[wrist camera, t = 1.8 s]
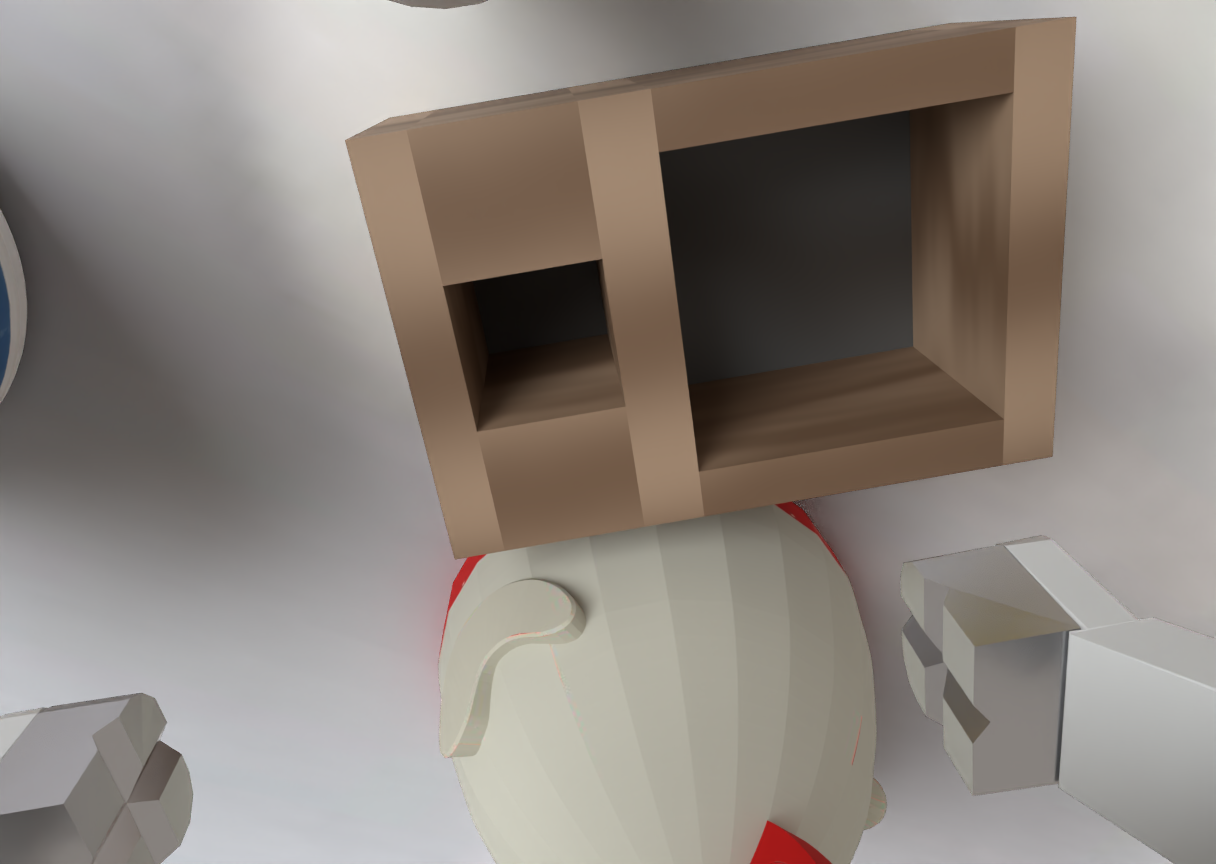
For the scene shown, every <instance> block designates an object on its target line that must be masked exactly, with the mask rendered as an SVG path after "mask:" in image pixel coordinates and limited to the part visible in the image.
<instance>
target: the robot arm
mask: <svg viewBox="0 0 1216 864" xmlns="http://www.w3.org/2000/svg"><path fill="white" fill-rule="evenodd" d="M900 581H901V597H902V599H903V600H904V602H905V603H906V605H907V606H908V608H909V609H910V611H911V612H912V616H911V617H910V619H909V620H908V622H907V623H906V624H905V626H904V627H903V629H902V646H903V658H904V662H905V667H906V671H907V676H908V680H909V683H910V685H911V688H912V690H913V693H914V695H915V698H916V700H917V702H918V704H919V705H920V707H921V709H922V711H923V713H924V714H925V716H926V717H928V718H930V719H931V720H933V721H935V722H937V723H939V724H941V725H943V746H944V749H945V751H946V752H947V754H948V756H949V757H950V759H951V761H952V762H953V764H954V766H955V767H956V769H957V771H958V772H959V774H960V776H961V778H962V779H963V781H964V783H965V784H966V786H967V788H968V789H969V791H970V793H971V794H972V796H976V795H983V794H990V793H997V792H1004V791H1011V790H1018V789H1025V788H1032V787H1038V786H1045V785H1052V784H1059V787H1058V788H1060V789H1061V790H1063V791H1064V792H1066V793H1067V794H1069V795H1070V796H1072V797H1073V798H1075V799H1076V800H1078V801H1079V802H1081V803H1083V804H1084V805H1086V806H1087V807H1089V808H1090V809H1092V810H1093V811H1095V812H1096V813H1098V814H1099V815H1101V816H1102V817H1104V818H1105V819H1107V820H1108V821H1110V822H1111V823H1113V824H1115V825H1116V826H1118V827H1119V828H1121V829H1122V830H1124V831H1125V832H1127V833H1128V834H1130V835H1131V836H1133V837H1134V838H1136V839H1137V840H1139V841H1140V842H1142V843H1143V844H1145V845H1146V846H1148V847H1150V848H1151V849H1153V850H1154V851H1156V852H1157V853H1159V854H1160V855H1162V856H1163V857H1165V858H1166V859H1168V860H1169V861H1171V862H1172V863H1174V864H1216V639H1215V638H1212V637H1209V636H1206V635H1203V634H1200V633H1197V632H1194V631H1192V630H1189V629H1186V628H1183V627H1180V626H1177V625H1174V624H1171V623H1168V622H1165V621H1163V620H1160V619H1157V618H1154V617H1153V618H1147V619H1141V620H1138V619H1137V618H1136V617H1135V616H1134V615H1133V614H1132V613H1131V612H1130V611H1129V610H1128V609H1126V608H1125V607H1124V606H1123V605H1122V604H1121V603H1120V602H1119V601H1118V600H1117V599H1116V598H1115V597H1114V596H1113V595H1111V594H1110V593H1109V592H1108V591H1107V590H1106V589H1105V588H1104V587H1103V586H1102V585H1101V584H1100V583H1099V582H1098V581H1097V580H1095V579H1094V578H1093V577H1092V576H1091V575H1090V574H1089V573H1088V572H1087V571H1086V570H1085V569H1084V568H1083V567H1082V566H1081V565H1079V564H1078V563H1077V562H1076V561H1075V560H1074V559H1073V558H1072V557H1071V556H1070V555H1069V554H1068V553H1067V552H1066V551H1065V550H1063V549H1062V548H1061V547H1060V546H1059V545H1058V544H1057V543H1056V542H1055V541H1054V540H1053V539H1051V538H1048V537H1045V536H1042V535H1040V536H1035V537H1030V538H1025V539H1020V540H1015V541H1010V542H1006V543H1001V544H996V545H995V546H991V547H985V548H980V549H975V550H969V551H964V552H959V553H953V554H948V555H943V556H937V557H932V558H927V559H921V560H916V561H911V562H905V563H903V567H902V571H901V576H900ZM166 724H167V721H166V719H165V717H164V715H163V713H162V711H161V709H160V707H159V705H158V703H157V701H156V700H155V698H153V697H151V696H148V695H146V694H143V693H136V694H130V695H123V696H116V697H110V698H103V699H96V700H90V701H83V702H77V703H70V704H63V705H57V706H52V707H49V708H37V709H32V710H26V711H20V712H15V713H9V714H5V715H3V716H0V864H160V863H162V862H163V861H164V860H165V859H166V858H167V857H168V856H169V855H170V854H171V853H173V852H174V851H175V850H176V849H177V848H178V847H179V846H180V845H181V843H182V840H183V838H184V835H185V833H186V831H187V828H188V826H189V823H190V818H191V809H192V800H193V790H192V785H191V779H190V773H189V770H188V768H187V766H186V763H185V761H184V759H183V756H182V754H180V753H179V752H177V751H176V750H174V749H172V748H171V747H169V746H168V745H166V744H165V743H163V742H162V741H160V739H161V737H162V734H163V731H164V729H165V726H166Z"/></svg>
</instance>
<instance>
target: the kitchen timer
mask: <svg viewBox="0 0 1216 864" xmlns="http://www.w3.org/2000/svg"><path fill="white" fill-rule="evenodd" d="M438 676H439V685H440V693H441V699H442V701H441V711H440V727H439V745H440V752H441V754H442V755H443V757H444V758H449V757H452V759H453V763H454V766H455V769H456V773H457V776H458V779H459V782H460V785H461V788H462V791H463V794H464V797H465V800H466V803H467V806H468V809H469V812H470V815H471V817H472V820H473V822H474V824H475V826H476V828H477V830H478V832H479V834H480V836H481V838H482V840H483V842H484V843H485V845H486V847H487V849H488V850H489V852H490V854H491V856H492V858H493V859H494V861H495V863H496V864H850V862H851V860H852V858H853V856H854V854H855V851H856V849H857V847H858V844H859V842H860V839H861V836H862V833H863V830H866V829H870V828H872V827H874V826H875V825H876V824H878V823H879V822H880V821H881V820H882V818H883V817H884V815H885V812H886V807H887V802H886V795H885V793H884V791H883V789H882V787H881V785H880V784H879V783H878V782H877V781H876V780H875V779H874V778H873V771H874V760H875V750H876V734H877V729H876V707H875V692H874V678H873V667H872V660H871V654H870V650H869V646H868V642H867V638H866V635H865V631H864V628H863V624H862V621H861V617H860V613H859V610H858V606H857V603H856V599H855V596H854V592H853V589H852V586H851V584H850V581H849V579H848V576H847V575H846V573H845V571H844V570H843V568H842V566H841V564H840V563H839V561H838V559H837V558H836V556H835V554H834V553H833V551H832V549H831V548H830V547H829V545H828V544H827V543H826V541H825V540H824V538H823V537H822V536H821V534H820V533H819V531H818V530H817V529H816V527H815V526H814V524H813V523H812V522H811V520H810V519H809V518H808V516H807V515H806V513H805V512H804V511H803V509H801V508H800V507H798V506H797V505H796V504H794V503H793V502H786V503H780V504H775V505H769V506H763V507H757V508H751V509H746V510H740V511H734V512H728V513H722V514H717V515H711V516H705V517H699V518H693V519H687V520H682V521H676V522H670V523H664V524H658V525H653V526H647V527H641V528H635V529H629V530H624V531H618V532H612V533H606V534H600V535H594V536H589V537H583V538H577V539H571V540H565V541H560V542H554V543H548V544H542V545H536V546H531V547H525V548H519V549H513V550H507V551H501V552H496V553H490V554H484V555H478V556H472V557H468V558H467V560H466V561H465V563H464V565H463V566H462V568H461V570H460V572H459V573H458V575H457V577H456V578H455V580H454V582H453V585H452V590H451V595H450V600H449V605H448V610H447V615H446V620H445V625H444V630H443V636H442V643H441V649H440V655H439V662H438Z"/></svg>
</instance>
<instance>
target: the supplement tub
mask: <svg viewBox="0 0 1216 864" xmlns="http://www.w3.org/2000/svg"><path fill="white" fill-rule="evenodd" d="M26 326H27V297H26V286H25V279H24V274H23V269H22V264H21V261H20V257H19V253H18V250H17V247H16V244H15V241H14V239H13V236H12V233H11V231H10V228H9V226H8V224H7V221H6V219H5V217H4V215H3V213H2V211H1V209H0V404H1V402H2V401H3V399H4V397H5V396H6V394H7V392H8V390H9V388H10V386H11V384H12V382H13V379H14V377H15V375H16V372H17V369H18V366H19V363H20V360H21V356H22V353H23V348H24V342H25V336H26Z"/></svg>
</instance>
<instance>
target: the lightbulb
mask: <svg viewBox="0 0 1216 864" xmlns="http://www.w3.org/2000/svg"><path fill="white" fill-rule="evenodd" d="M389 1H393V2H397V3H400V4H404V5H407V6H411V7H425V8H441V9H448V8H455V7H461V6H468V5H474V4H480V3H483V2H485V1H488V0H389Z"/></svg>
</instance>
